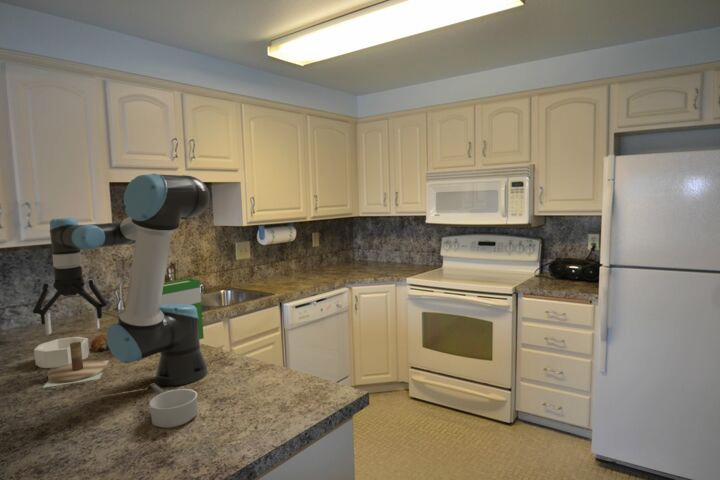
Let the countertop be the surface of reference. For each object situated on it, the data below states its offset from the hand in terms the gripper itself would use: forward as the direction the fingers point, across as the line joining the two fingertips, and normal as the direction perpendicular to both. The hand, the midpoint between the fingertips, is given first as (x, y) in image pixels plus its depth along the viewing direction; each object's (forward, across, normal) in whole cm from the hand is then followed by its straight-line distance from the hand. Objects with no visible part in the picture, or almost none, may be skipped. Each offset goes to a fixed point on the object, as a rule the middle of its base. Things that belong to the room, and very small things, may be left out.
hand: (73, 331), depth 144 cm
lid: (+14, 0, 0) cm, 14 cm away
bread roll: (+15, -4, -26) cm, 30 cm away
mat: (+15, 0, 0) cm, 15 cm away
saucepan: (+14, -29, +43) cm, 54 cm away
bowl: (+15, +8, -17) cm, 24 cm away
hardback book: (+15, -30, -21) cm, 40 cm away
